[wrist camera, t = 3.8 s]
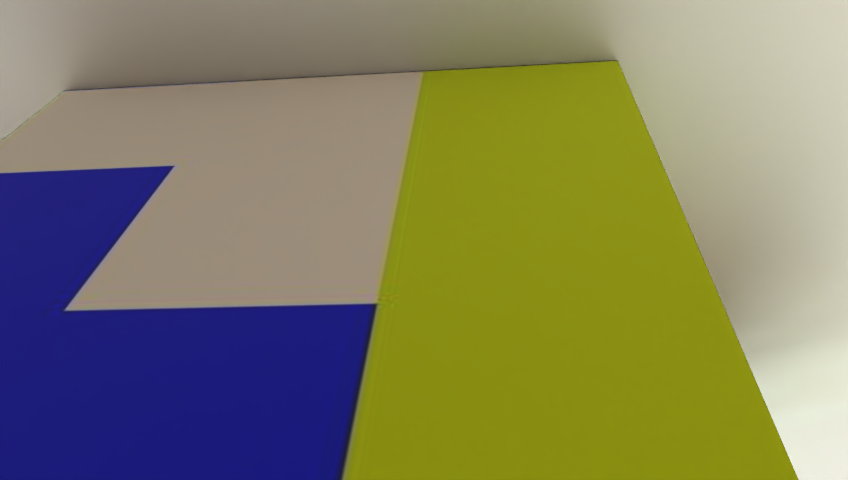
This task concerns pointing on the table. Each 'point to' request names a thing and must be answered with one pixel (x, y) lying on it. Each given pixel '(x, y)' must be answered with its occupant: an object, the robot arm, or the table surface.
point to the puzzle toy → (363, 287)
